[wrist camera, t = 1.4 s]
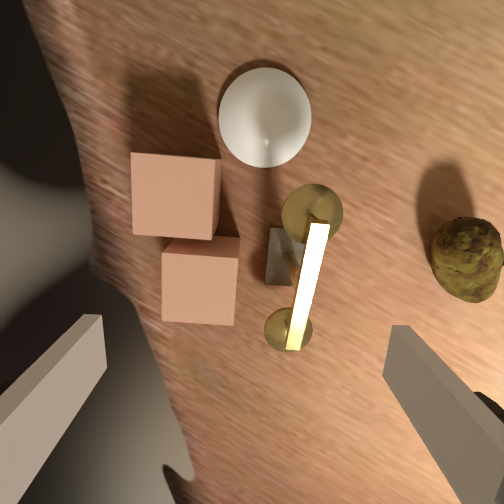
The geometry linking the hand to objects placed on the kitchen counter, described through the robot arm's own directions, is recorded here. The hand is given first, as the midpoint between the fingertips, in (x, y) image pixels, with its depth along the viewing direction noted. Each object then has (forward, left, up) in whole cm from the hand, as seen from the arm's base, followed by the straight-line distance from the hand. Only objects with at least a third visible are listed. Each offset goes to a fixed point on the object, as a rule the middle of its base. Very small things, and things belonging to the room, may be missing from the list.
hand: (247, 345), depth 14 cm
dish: (-13, +1, -29) cm, 31 cm away
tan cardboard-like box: (-4, -8, -29) cm, 30 cm away
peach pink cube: (+6, -5, -29) cm, 30 cm away
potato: (+2, +28, -29) cm, 40 cm away
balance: (+4, +6, -29) cm, 30 cm away
